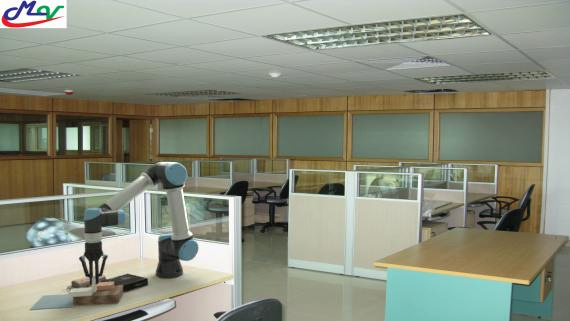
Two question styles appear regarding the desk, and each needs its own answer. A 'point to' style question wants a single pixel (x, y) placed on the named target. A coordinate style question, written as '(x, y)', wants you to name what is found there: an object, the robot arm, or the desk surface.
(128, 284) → the portable cd player
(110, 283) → the terracotta card
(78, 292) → the ivory card
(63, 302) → the mat
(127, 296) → the desk surface
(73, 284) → the packaged product
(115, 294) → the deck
